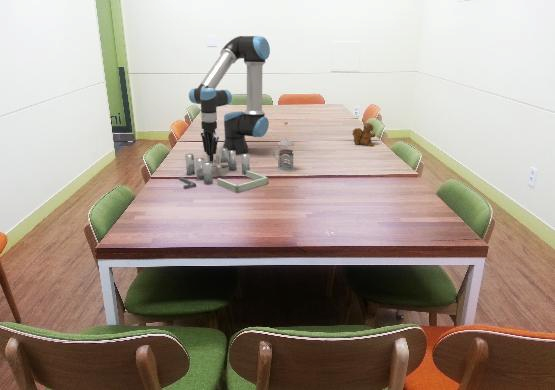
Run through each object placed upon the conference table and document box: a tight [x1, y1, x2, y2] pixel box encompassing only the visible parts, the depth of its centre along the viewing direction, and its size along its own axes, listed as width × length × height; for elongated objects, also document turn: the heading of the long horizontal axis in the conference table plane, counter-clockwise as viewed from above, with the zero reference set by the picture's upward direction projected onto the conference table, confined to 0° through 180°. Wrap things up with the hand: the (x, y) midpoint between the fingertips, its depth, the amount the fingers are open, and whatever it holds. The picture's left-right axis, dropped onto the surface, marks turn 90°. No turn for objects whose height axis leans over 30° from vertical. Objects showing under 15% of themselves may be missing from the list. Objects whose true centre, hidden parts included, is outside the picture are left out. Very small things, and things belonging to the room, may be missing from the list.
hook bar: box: [178, 176, 197, 190], centre depth 213 cm, size 14×6×1 cm, turn 40°
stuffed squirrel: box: [352, 122, 376, 147], centre depth 279 cm, size 10×14×13 cm
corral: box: [216, 170, 269, 194], centre depth 212 cm, size 19×15×3 cm
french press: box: [272, 121, 296, 173], centre depth 229 cm, size 10×12×25 cm
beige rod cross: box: [212, 154, 229, 176], centre depth 224 cm, size 10×10×10 cm
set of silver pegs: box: [184, 147, 251, 185], centre depth 226 cm, size 26×23×10 cm
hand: (210, 166), depth 229 cm, fingers closed
